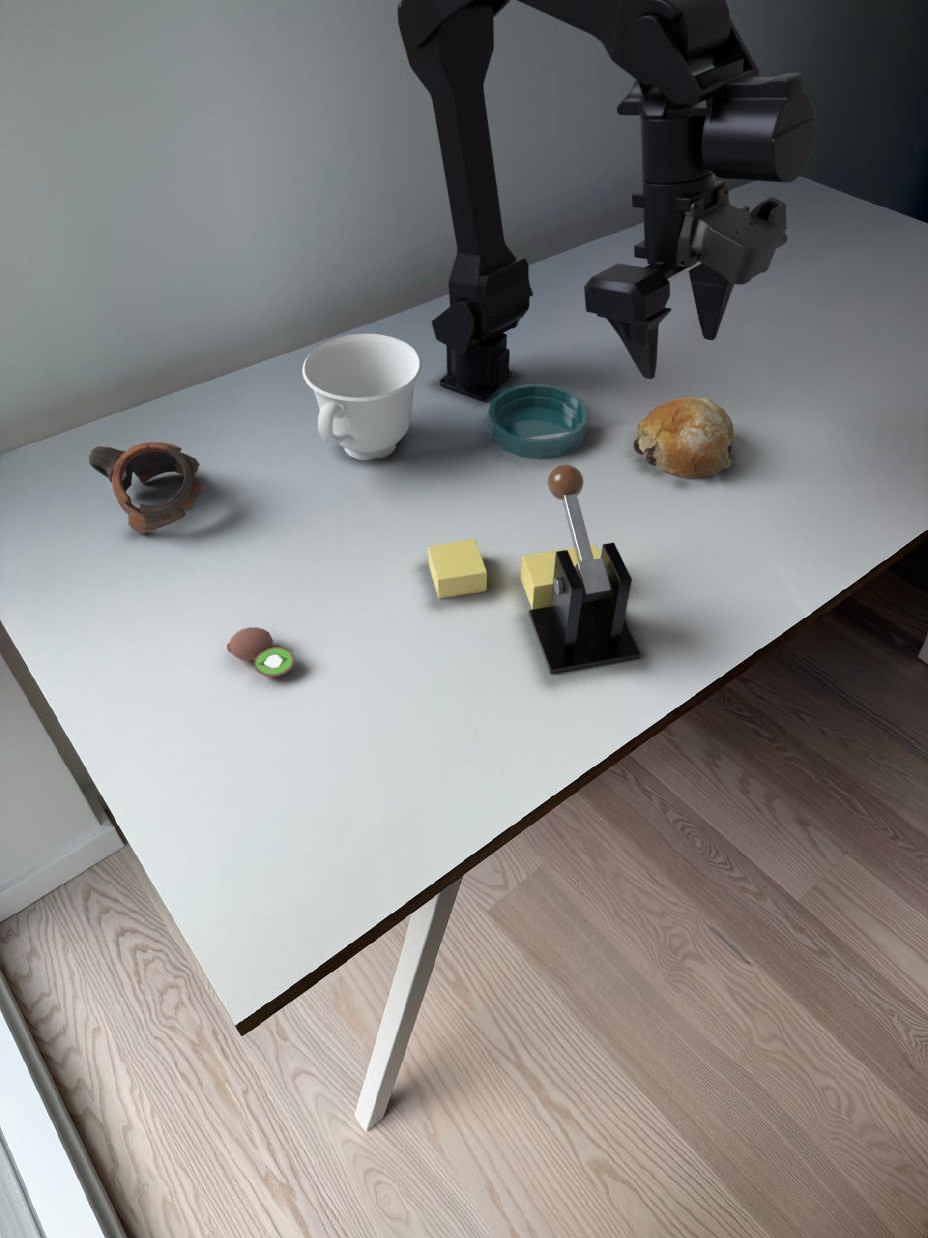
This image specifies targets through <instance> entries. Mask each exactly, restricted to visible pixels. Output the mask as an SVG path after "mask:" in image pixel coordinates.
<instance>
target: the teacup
mask: <svg viewBox="0 0 928 1238" xmlns="http://www.w3.org/2000/svg"><path fill="white" fill-rule="evenodd" d="M422 369H423V363H422V359H421V356H420V355H419V353H418V352H417V350H415V349H414V348H413V346H411V345H410V344H408V343H406V342H405V341H403V340H401V339H399V338H396V337H392V336H389V335H385V334H384V335H383V334H378V333H355V334H349V335H348V334H347V335H344V336H340V337H339V336H338V337H336V338H333V339H330V340H328V341H326V342H324V343H322V344H320V345H319V346H317V347H316V348H314V349H313V350H312V351H311V352H310V353H308V355H307V357H306V359H305V360H304V362H303V364H302V371H301V372H302V376H303V379H304V381H305V383H306V384H307V386H309V387H310V388H311V389H312V390H313V392H314V395H315V398H316V402H317V405H318V408H319V409H318V410H319V414H318V418H317V428H318V429H317V430H318V434H319V436H320V438H321V439H322V440H323V441H324V442H325V443H328V444H330V445H339V446H341V448H343V449H344V451H345V453H346V454H347V455H348V456H349V457H351V458H353V459H356V460H358V461H370V460H378V459H383V458H387V457H388V456H390V455H391V454H392V453H394V451H395V449H396V448H397V443H398V442H400V441H401V440H402V439H403V438H404V437H405V435H406V434H407V432H408V429H409V426H410V424H411V419H412V412H413V401H414V390H415V389H414V388H415V382H416V381H417V380H418V379H419V377H420V376H421V373H422Z"/></svg>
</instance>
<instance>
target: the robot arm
mask: <svg viewBox="0 0 928 1238" xmlns="http://www.w3.org/2000/svg"><path fill="white" fill-rule="evenodd" d="M511 1H512V0H400V2H398V4H397V24H398V28H399V32H400V36H401V39H402V44H403V48H404V50H405V53H406V57H407V61H408V65H409V67H410V69H411V70H412V72H413V73H414V75H415V76H416V77H417V79H418V80H419V81H420V82H421V84H422V85H423V87H424V88H425V89H426V90H427V92H428V94H429V95H430V96H431V97H430V98H431V101H432V102H431V103H432V108H433V113H434V119H435V125H436V126H435V127H436V130H437V131H436V132H437V137H438V143H439V148H440V155H441V160H442V166H443V173H444V179H445V184H446V190H447V196H448V202H449V203H448V204H449V207H450V213H451V220H452V225H453V231H454V237H455V244H456V254H455V255H456V256H455V259H454V261H453V262H454V263H453V265H452V269H451V272H450V275H449V279H448V293H449V294H448V296H449V298H448V299H449V307H448V308H447V309H445V310H444V311H442V312H441V313H440V314H439V315H437V316H436V317H435V318H434V319H433V320H431V326H432V331H433V333H434V338H435V340H436V341H437V342H440V343H442V344H443V345H445V346H446V374H445V375H443V376H442V378H440V379H439V386H441V387H443V388H446V389H448V390H451V391H454V392H457V393H460V394H463V395H465V396H468V397H471V398H473V399H476V400H478V401H483V402H486V401H488V400H489V399H490V398H491V397H493V395H494V394H495V393H496V392H497V391H499V390H500V389H501V388H502V387H503V386H504V385H505V384H507V382H509V380H511V379H512V378H513V371H512V370H510V360H511V359H510V358H511V357H510V356H511V355H510V354H511V351H510V349H509V348H508V334H507V333H506V332H508V331H510V330H512V329H515V328H517V327H518V325H519V323H520V320H521V319H523V317H524V316H525V315H526V313H527V312H528V311H529V309H530V301H531V300H530V298H531V297H533V296H534V292H533V289H532V288H531V283H530V275H529V273H530V271H529V268H530V267H529V265H530V264H529V263H528V261H527V259H526V258H525V257H521V258H518V257H517V256H516V255H515V254H514V252H513V251H512V250H511V248H510V247H509V246H508V245H507V243H506V240H505V235H504V229H503V228H504V227H503V221H502V213H501V206H500V198H499V190H498V184H497V177H496V176H497V175H496V170H495V161H494V156H493V154H494V153H493V147H492V141H491V134H490V126H489V119H488V111H487V104H486V96H485V86H484V85H485V80H486V78H487V74H488V70H489V67H490V64H491V60H492V56H493V53H494V50H495V30H494V29H495V27H494V25H495V24H494V22H495V21H494V18H495V17H496V16H498V14H499V13H500V12H501V11H502V10H503V9H504V8H505V7H507V5H508V4H510V2H511ZM516 1H518V2H519V3H522V4H523V5H526V6H528V7H530V8H532V9H535V10H537V11H539V12H541V13H543V14H545V15H548V16H550V17H552V18H555V19H556V20H559V21H560V22H564V23H565V24H566V25H567V24H568V25H569V26H571V27H574V28H576V29H579V30H580V31H582V32H585V33H587V34H589V35H591V36H592V37H594V38H595V40H597V41H599V42H600V43H601V44H602V45H603V47H604V49H605V50H606V52H607V54H608V56H609V59H610V60H611V62H613V63H614V64H615V65H617V66H618V67H619V68H621V69H622V70H623V71H625V72H626V73H627V74H628V75H629V76H631V77H632V78H633V79H635V81H634V83H633V85H632V88H631V89H630V91H629V92H628V93H627V94H626V95H625V97H624V98H623V99H622V100H621V102H619V104H618V105H617V107H616V112H617V114H618V115H619V116H640V143H641V144H640V145H641V147H640V150H641V176H642V179H641V182H642V189H640V190H638V191H636V192H634V193H633V192H632V193H631V202H632V205H631V207H632V208H640V209H642V211H643V214H642V215H643V240H642V241H640V242H638V243H636V244H634V245H633V255H634V258H635V259H643V260H646V263H647V264H648V265H645V266H637V265H631V264H624V263H616V264H614V265H612V266H610V267H608V268H606V269H604V270H602V271H600V272H598V273H596V274H595V275H593V276H591V278H590V279H589V280H588V281H587V282H586V283H585V285H584V286H583V292H584V303H585V304H584V306H585V311H586V313H591V314H594V315H596V316H597V317H598V318H603V319H606V320H607V321H608V323H609V325H610V326H611V327H612V328H613V330H614V331H615V333H616V334H617V336H618V338H619V339H620V341H621V342H622V343H623V345H624V347H625V348H626V350H627V352H628V353H629V356H630V357H631V359H632V361H633V363H634V364H635V366H636V368H637V369H638V371H639V373H640V375H641V376H642V378H644V379H647V380H653V379H654V378H655V377H656V371H657V365H658V364H657V363H658V345H659V329H660V328H659V326H660V324H661V322H662V321H663V320H664V319H665V318H667V316H668V315H669V314H670V313H671V311H672V308H671V307H666V306H667V304H668V302H669V299H670V298H671V281H673V280H675V279H677V278H678V277H681V276H682V275H684V274H686V273H687V272H688V275H689V280H690V284H691V285H690V286H691V290H692V294H693V299H694V304H695V309H696V313H697V314H696V315H697V318H698V319H697V320H698V323H699V327H700V330H701V333H702V337H703V340H707V341H714V340H716V339H717V336H718V333H719V329H720V327H721V324H722V321H723V318H724V315H725V312H726V309H727V306H728V302H729V300H730V298H731V294H732V292H733V289H734V287H735V285H737V286H739V285H740V286H741V285H745V284H748V283H749V282H750V281H751V280H752V279H753V278H755V277H757V276H758V275H760V274H762V273H763V274H764V273H766V272H767V271H768V270H769V268H770V266H771V263H772V261H773V258H774V255H775V253H776V250H778V248H780V247H782V246H784V245H786V243H787V242H788V236H787V234H786V232H787V229H788V227H787V226H788V225H787V223H788V222H787V204H786V202H784V201H782V200H780V199H778V198H777V197H774V196H770V197H768V198H767V199H764V200H763V201H761V202H759V203H758V204H757V205H756V206H755V207H754V208H753V209H752V210H751V211H750V209H751V206H749V205H745V206H743V207H741V208H740V207H736V206H735V205H732V204H730V199H729V197H730V194H729V193H730V190H729V187H728V186H727V181H726V180H742V181H755V182H756V181H757V182H758V181H759V182H772V183H773V182H774V183H792V182H794V181H796V180H797V179H798V178H799V177H800V176H801V175H802V174H803V172H804V171H805V169H806V168H807V166H808V163H809V162H810V159H811V157H812V154H813V151H814V148H815V144H816V139H817V134H818V133H817V132H818V118H816V115H815V108H814V104H813V101H812V99H811V98H810V96H809V95H808V94H807V93H805V92H804V85H805V75H804V73H802V72H788V73H784V74H780V75H777V76H760V69H759V68H758V66H757V63H756V62H755V60H754V59H753V56H752V55H751V53H750V51H749V49H748V47H747V46H746V44H745V42H744V40H743V38H742V36H741V34H740V32H739V31H738V29H737V28H736V25H735V23H734V22H733V20H732V18H731V14H730V12H731V11H730V9H729V5H728V3H727V0H516ZM711 65H712V66H713V68H710V69H708V70H706V69H707V68H709V67H710V66H711ZM704 69H705V71H703V72H700V71H702V70H704ZM697 72H700V73H697ZM694 73H697V74H695V75H694ZM716 177H717V178H720V179H724V180H716ZM725 179H726V180H725Z"/></svg>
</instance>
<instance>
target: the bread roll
mask: <svg viewBox="0 0 928 1238" xmlns="http://www.w3.org/2000/svg"><path fill="white" fill-rule="evenodd" d="M637 429H638V431H637V437H636V439H635V440H634V441H633V449H634V451H635V452H636V453H637V454H639V455H642V456H643V457H644V458H645V462H646V464H649V465H652V466H655V467H656V469H658V471H660V472H663V473H665V474H669V475H672V476H675V477H678V478H683V479H698V478H704V477H710V476H715V475H717V474H719V473H720V472H721V471H723V470H725V471H726V470H728V468H729V467H730V466H731V464H732V459H731V458H729V456H730V454H731V453H732V449H733V448H732V444H733V441H734V436H735V435H734V425H733V421H732V419H731V417H730V415H729V414H728V413H727V411H726V410H725V409H724V408H723V407H722V406H721V405H718V404H716V403H714V401H713V400H712V399H711V398H709V397H694V396H693V397H692V396H690V397H689V396H685V397H680V398H679V397H678V398H674V399H672V400H669V401H666V402H663V403H660V404H659V405H657V406H656V407H655V408H654V409H653V410H651V411H649V412H648V415H647V416H645V418H644V419H642V420H640V421H639V422H638V423H637Z"/></svg>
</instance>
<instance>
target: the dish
mask: <svg viewBox="0 0 928 1238" xmlns="http://www.w3.org/2000/svg"><path fill="white" fill-rule="evenodd" d="M487 412H488V413H487V415H488V416H487V431H488V433H489V436H490V438H491V441H492V442H493V443H494V444H495V445H497V446H498V447H499V448H500V449H501V450H502V451H504V452H507V453H508V454H512V455H514V456H516V457H519V458H524V459H525V458H526V459H535V460H545V459H546V460H547V459H553V458H560V457H562V456H565V455H567V454H569V453H571V452H574V451H575V450H577V449H578V447H580V445H581V444H582V443H583V442H584V441H585V439H586V431H587V423H588V414H589V411H588V409H587V406H586V404H585V403H584V401H583V400H582V399H581V398H580V397H579V396H577V395H576V394H574V393H573V392H571V391H570V390H567V389H564V388H561V387H559V386H556V385H552V384H542V383H529V384H522V385H521V384H520V385H515V386H513V387H511V388H508V389H506V390H503V391H501V392H500V393H498V395H497V396H495V397H494V398H493V399H492V400H491V402H490V405H489V408H488V411H487ZM564 433H566V434H564ZM557 434H564V435H561V436H559V437H550V438H545V439H539V438H535V437H542V436H551V435H557Z"/></svg>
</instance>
